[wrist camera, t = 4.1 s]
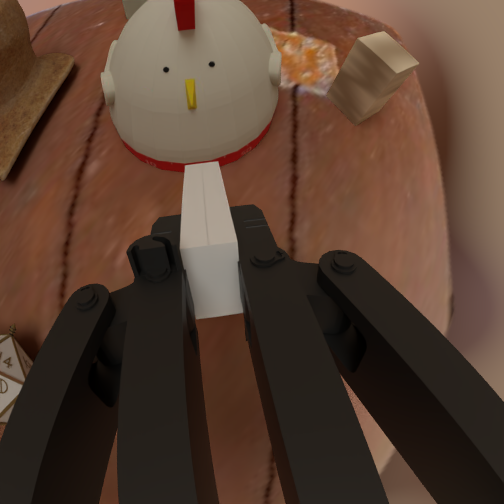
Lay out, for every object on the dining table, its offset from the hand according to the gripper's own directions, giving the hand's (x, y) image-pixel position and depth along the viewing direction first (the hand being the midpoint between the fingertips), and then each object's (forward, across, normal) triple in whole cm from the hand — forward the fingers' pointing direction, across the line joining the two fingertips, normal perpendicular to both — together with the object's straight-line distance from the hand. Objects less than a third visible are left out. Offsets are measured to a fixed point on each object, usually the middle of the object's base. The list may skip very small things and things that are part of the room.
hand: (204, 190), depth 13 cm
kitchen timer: (+14, 0, +3) cm, 14 cm away
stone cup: (+17, -20, +6) cm, 27 cm away
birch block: (+13, +14, +2) cm, 20 cm away
